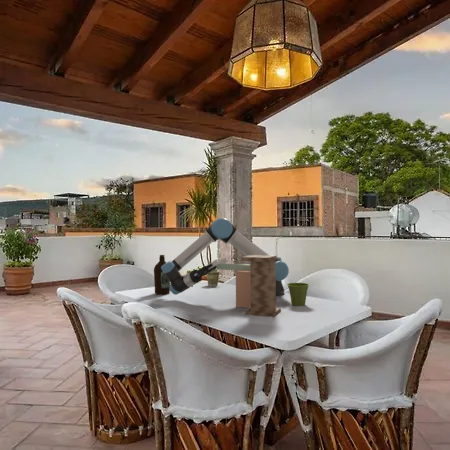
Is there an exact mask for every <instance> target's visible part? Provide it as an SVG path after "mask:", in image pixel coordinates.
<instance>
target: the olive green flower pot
mask: <svg viewBox="0 0 450 450" xmlns="http://www.w3.org/2000/svg"><path fill="white" fill-rule="evenodd" d="M220 275H221V276H220ZM205 276H206V281H207V285H208V286H209V287H217V286H218V284H219V280H220V279H221V278H222V277H223V273H222V272H221V273H220V270H219V271H218V270H213V271H211V272H209V273H208V274H206V275H205Z"/></svg>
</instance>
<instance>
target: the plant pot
mask: <svg viewBox="0 0 450 450" xmlns="http://www.w3.org/2000/svg"><path fill="white" fill-rule="evenodd" d="M286 286H287V287H288V291H289V295H290V301H291V302H290V303H291V305H292V306H296V307H302V306H305V305H306V299H307V295H308V289H309V286H310V284H309V283H306V282H289V283H287V284H286Z"/></svg>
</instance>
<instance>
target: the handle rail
mask: <svg viewBox="0 0 450 450" xmlns="http://www.w3.org/2000/svg"><path fill="white" fill-rule="evenodd" d="M216 270H219V271H221V270H222V271H223V270H224V271H225V270H226V271H238V270H246V271H251V264H248V263H225V264H222V263H219V264H218V265H217V269H216Z"/></svg>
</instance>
